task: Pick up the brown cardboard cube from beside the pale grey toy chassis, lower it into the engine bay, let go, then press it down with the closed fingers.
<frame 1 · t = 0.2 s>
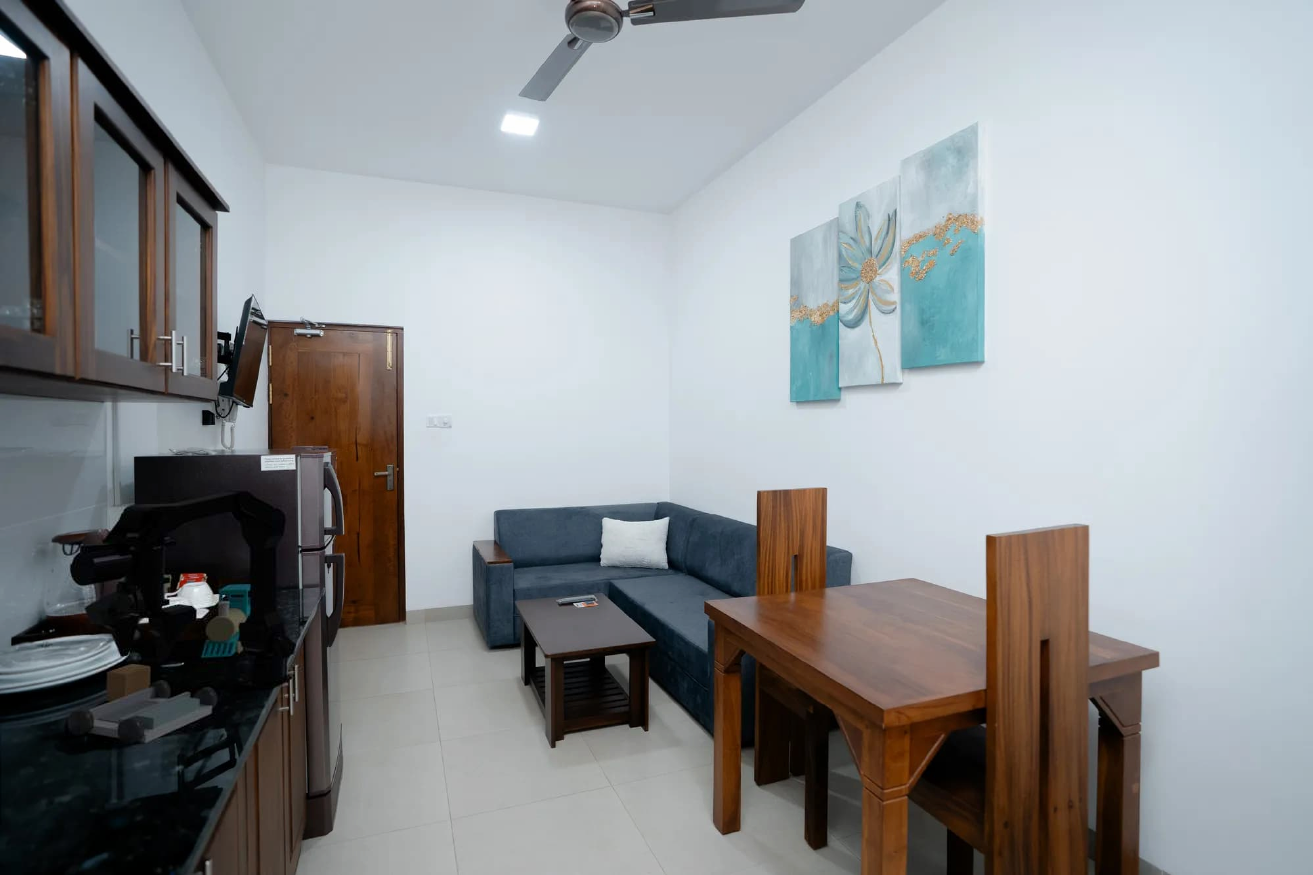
hand: (142, 659, 117), 14 cm above the countertop, fingers open, 9 cm apart
chassis: (145, 721, 123), on the countertop
brown cardboard cube: (128, 697, 134), on the countertop
toy train: (228, 650, 165), on the countertop
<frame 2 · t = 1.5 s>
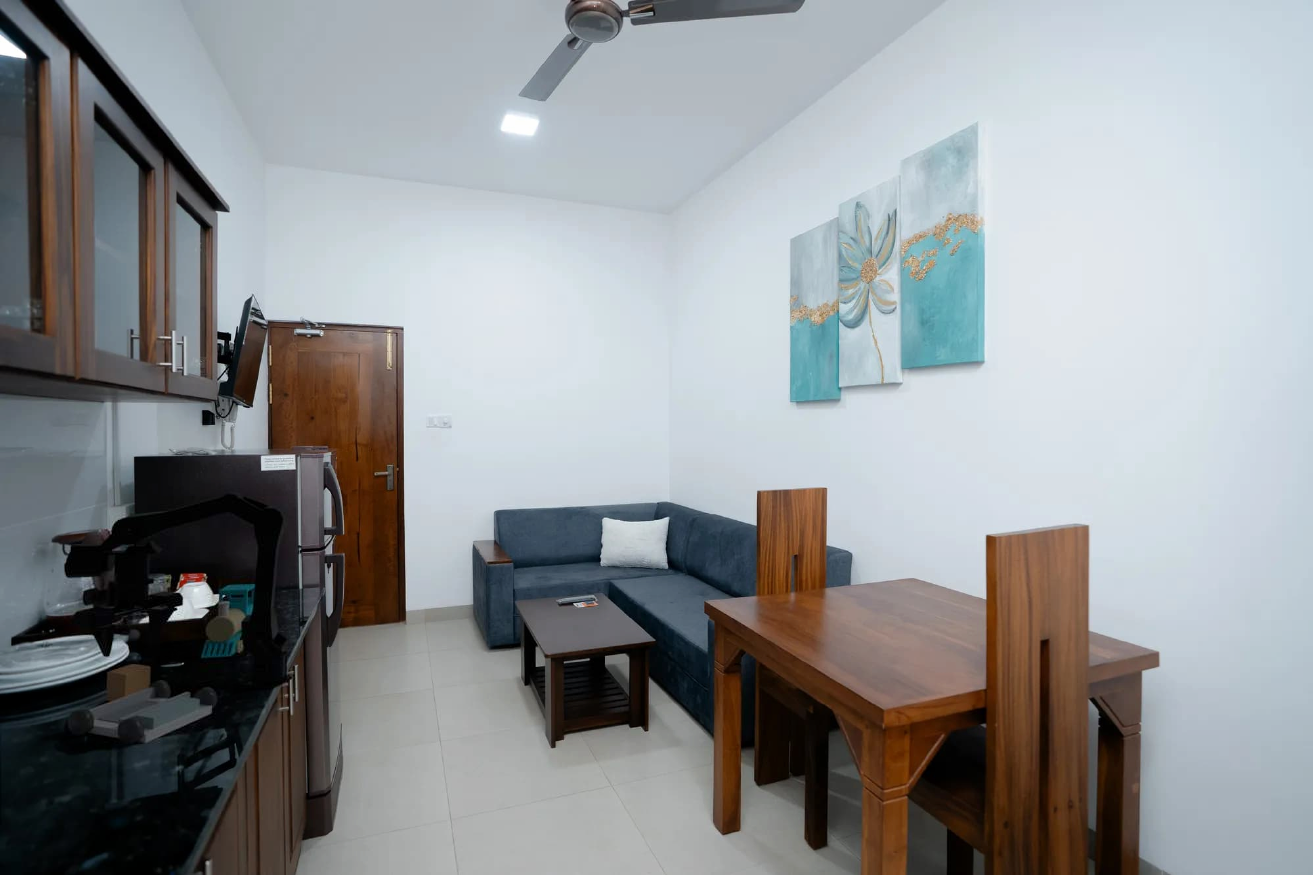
hand: (130, 649, 134), 10 cm above the countertop, fingers open, 9 cm apart
nothing on the countertop moved.
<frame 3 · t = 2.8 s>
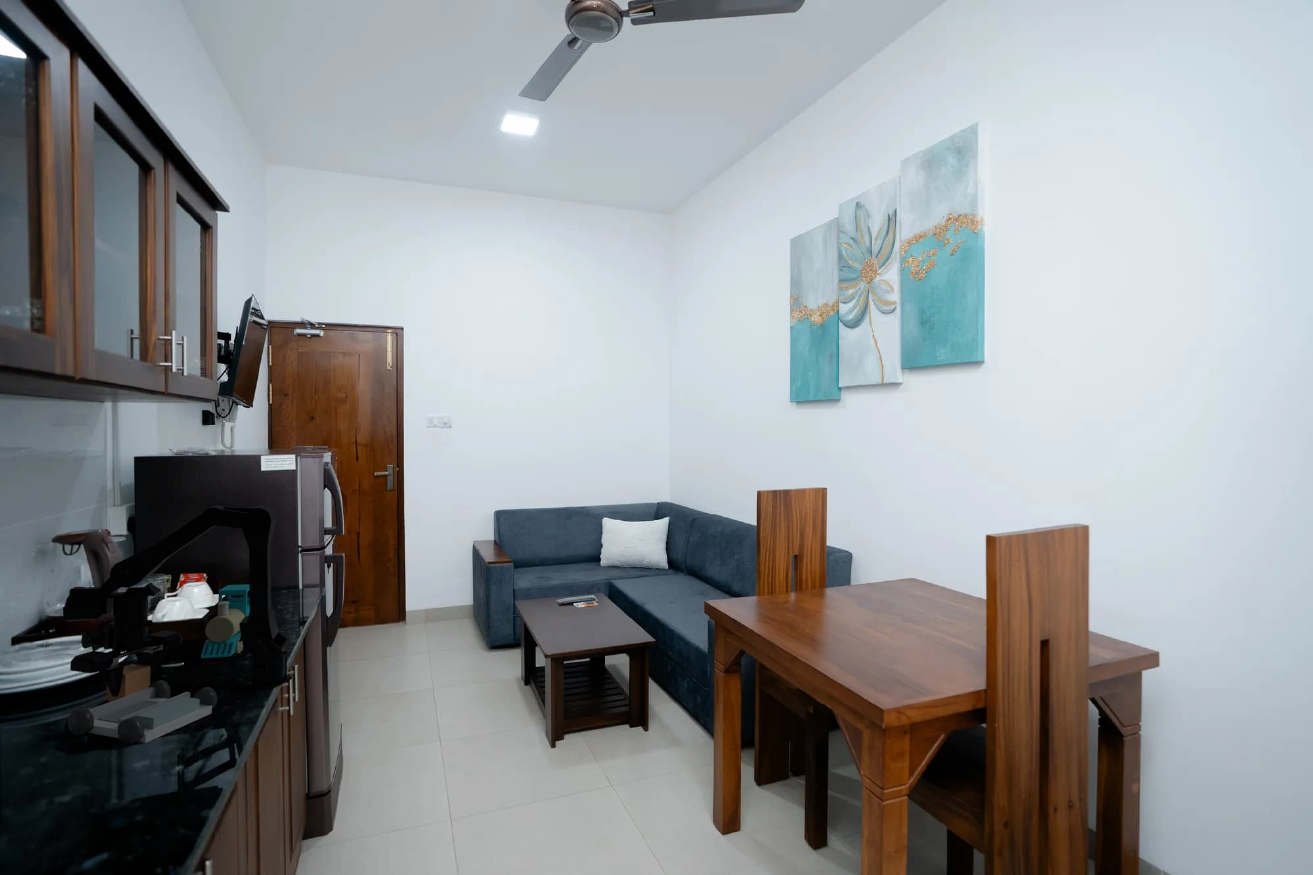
hand: (128, 691, 134), 1 cm above the countertop, fingers closed on brown cardboard cube, 5 cm apart
brown cardboard cube: (128, 697, 134), on the countertop, touching gripper
everything else where it was.
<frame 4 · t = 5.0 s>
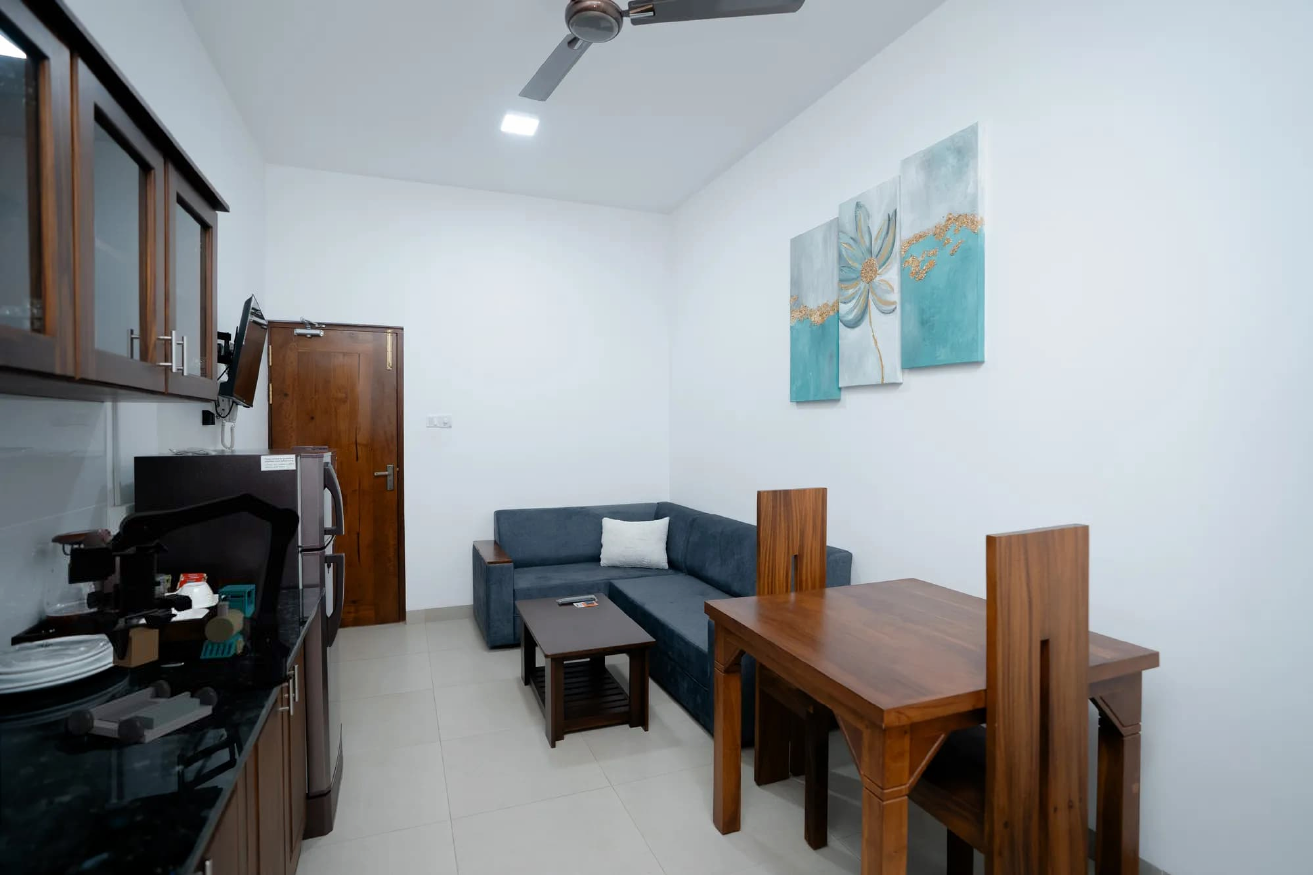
hand: (135, 655, 127), 11 cm above the countertop, fingers closed on brown cardboard cube, 5 cm apart
brown cardboard cube: (135, 661, 127), point 10 cm above the countertop, touching gripper
everything else where it was.
when the fingers open (4 cm above the countertop, at t = 7.1 s): brown cardboard cube drops 1 cm, resting on chassis.
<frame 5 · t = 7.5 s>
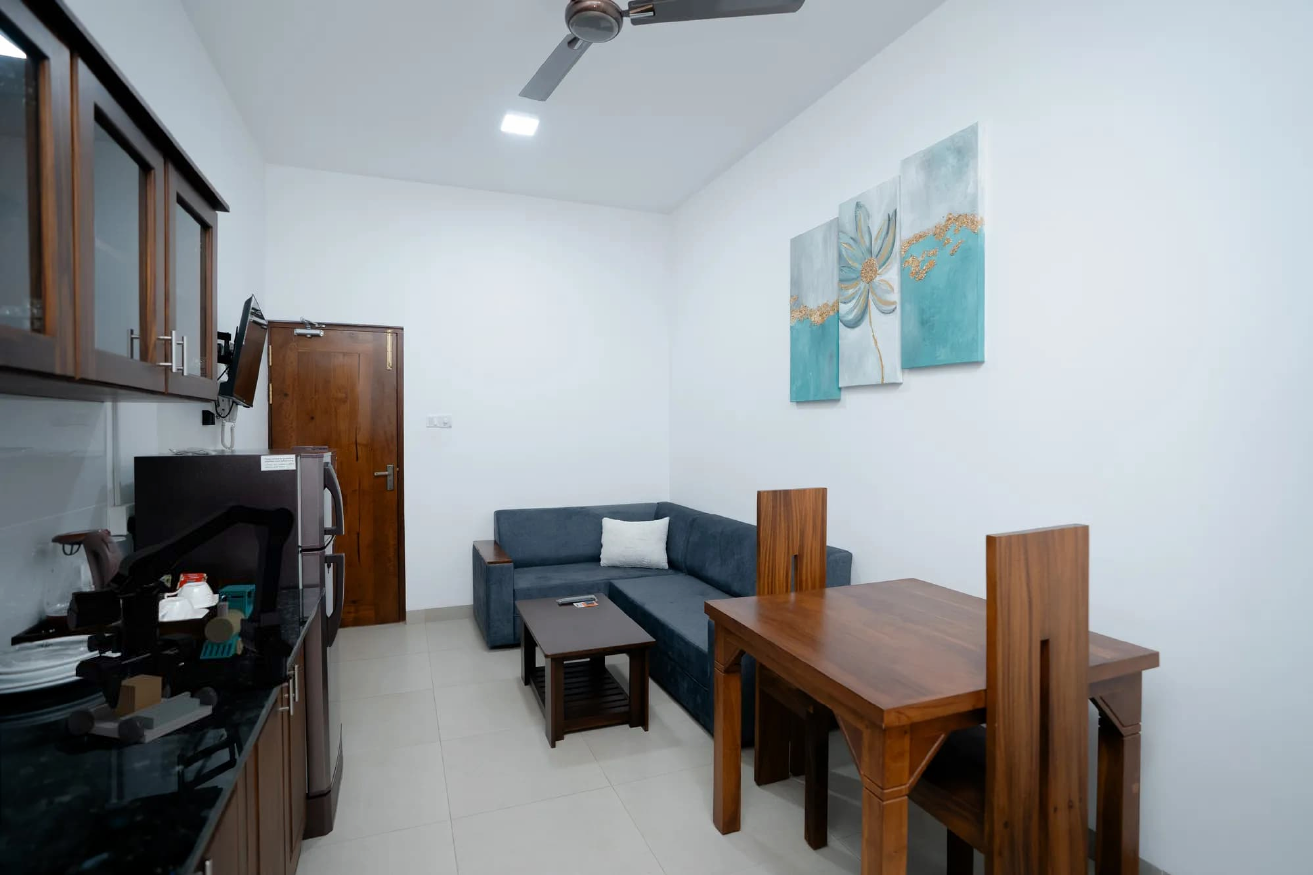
hand: (138, 698, 124), 4 cm above the countertop, fingers open, 9 cm apart
brown cardboard cube: (137, 711, 124), point 2 cm above the countertop, touching chassis
everything else where it was.
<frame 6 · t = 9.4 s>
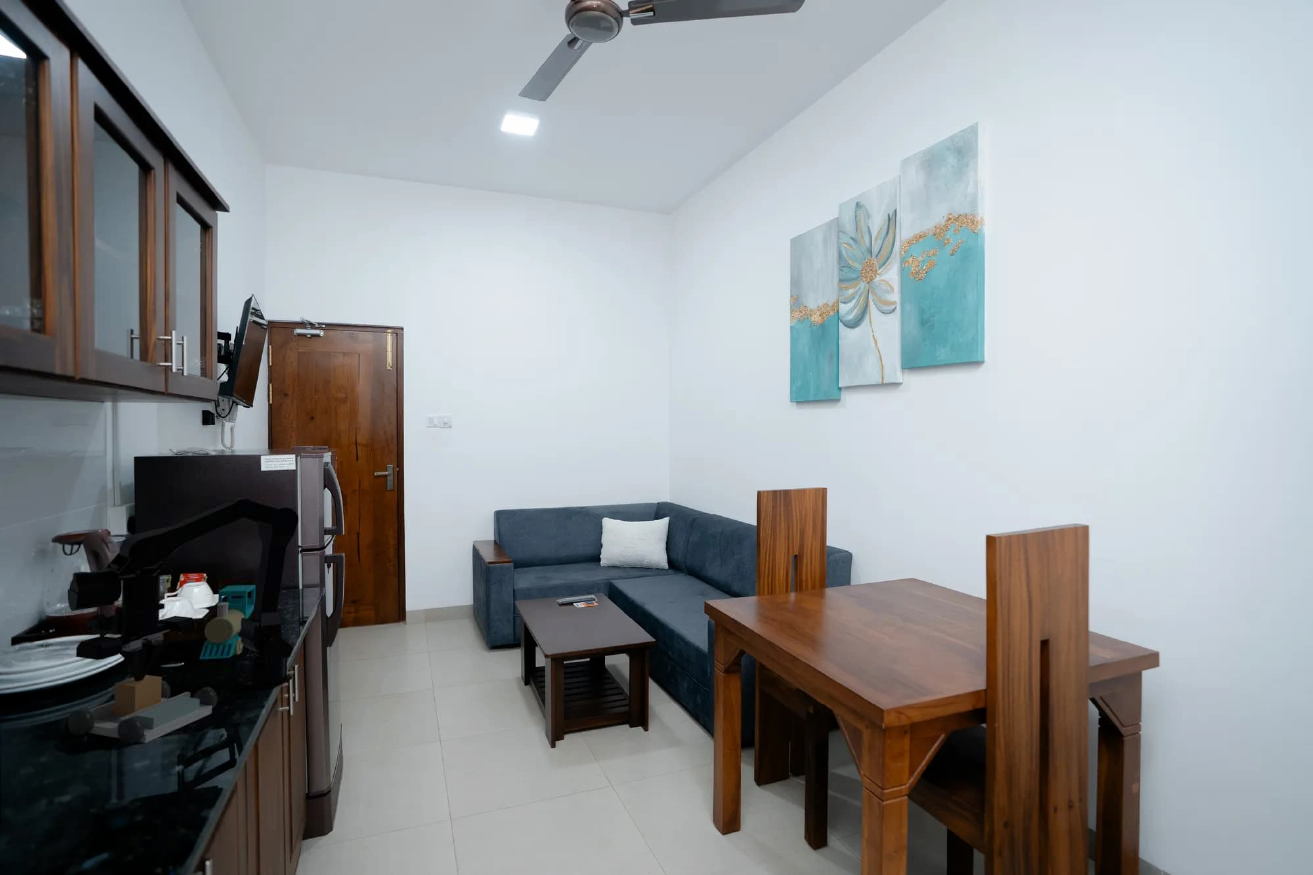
hand: (138, 680, 124), 8 cm above the countertop, fingers closed, pressing on brown cardboard cube
brown cardboard cube: (137, 711, 124), point 2 cm above the countertop, touching chassis, gripper
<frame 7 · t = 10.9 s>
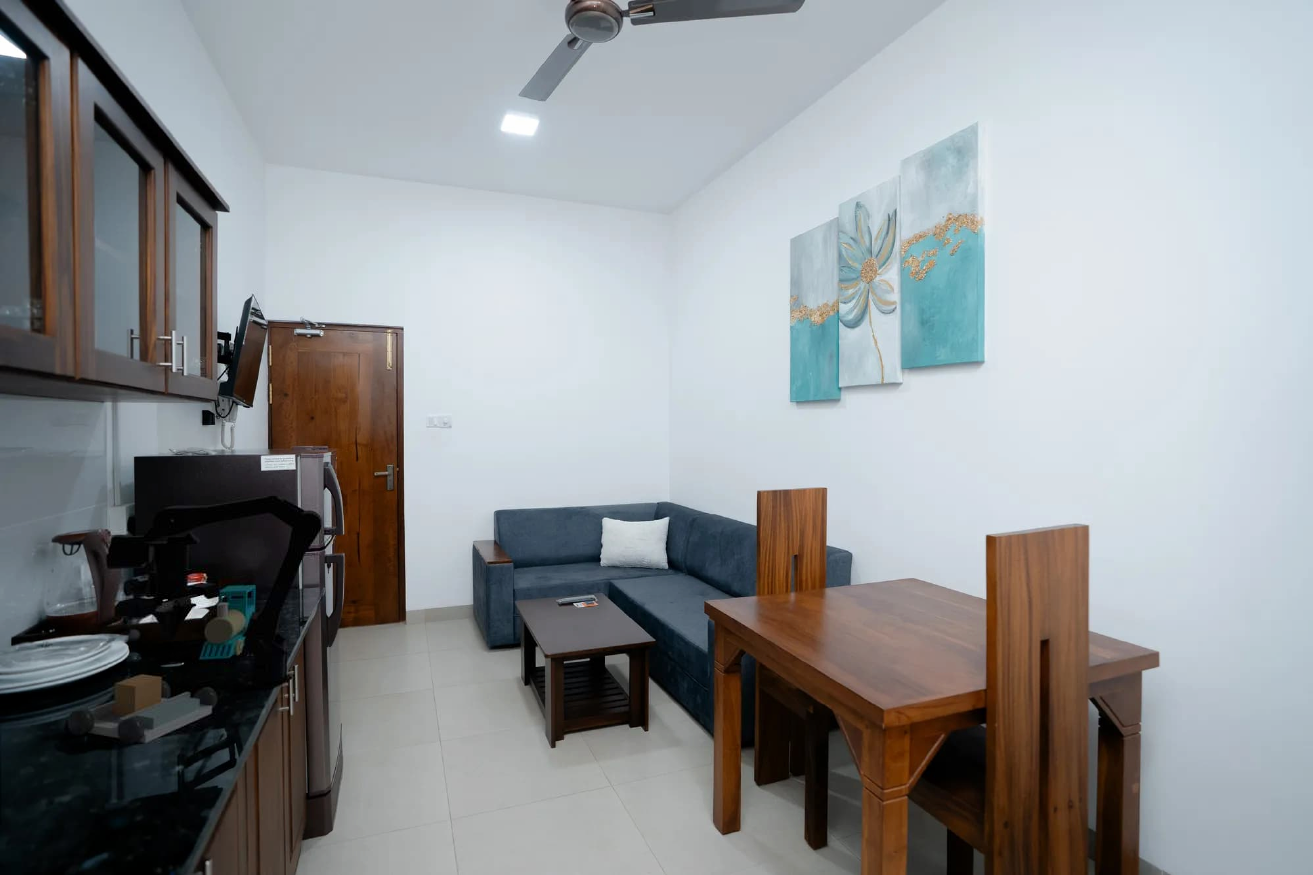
hand: (169, 639, 135), 12 cm above the countertop, fingers closed
brown cardboard cube: (137, 711, 124), point 2 cm above the countertop, touching chassis
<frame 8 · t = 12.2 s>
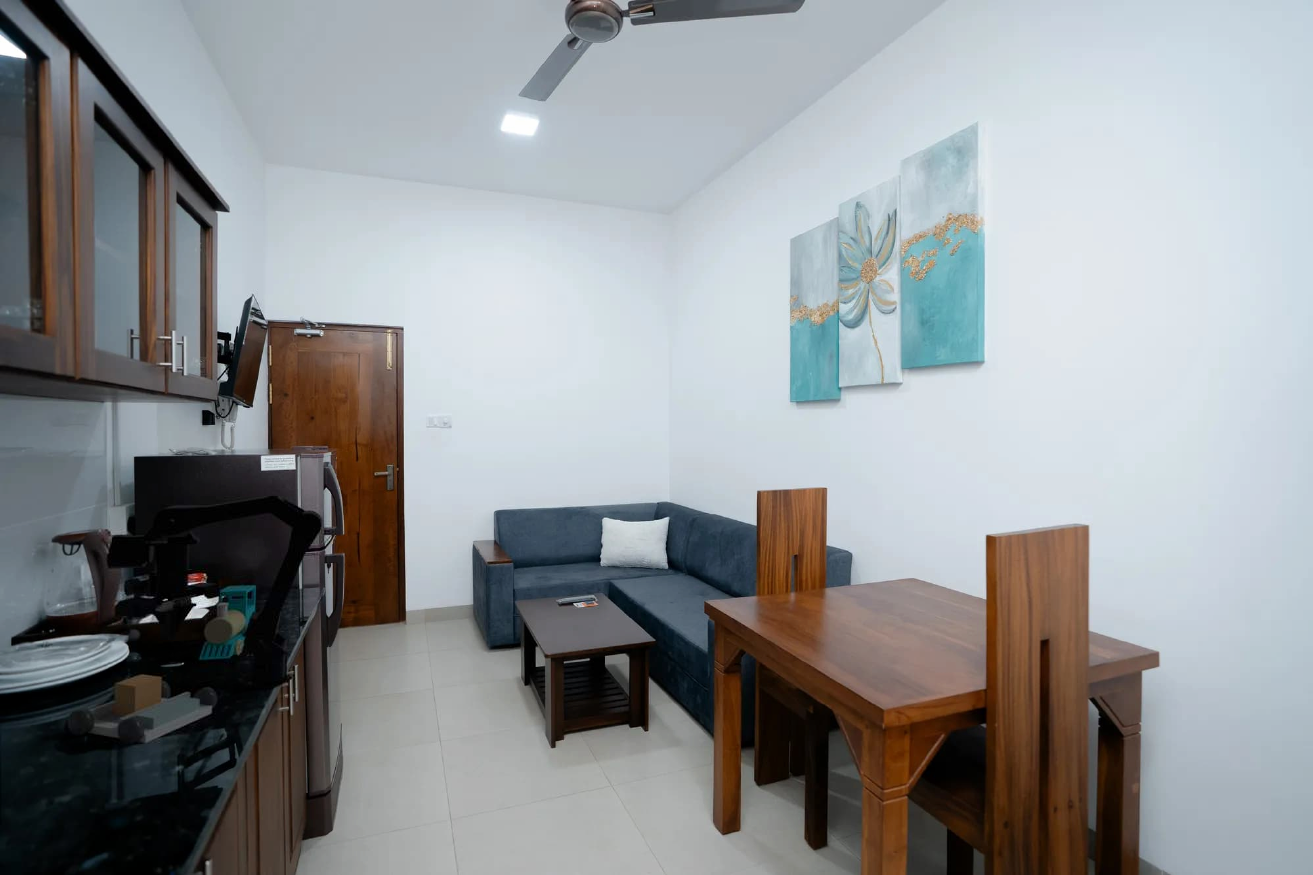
hand: (169, 639, 135), 12 cm above the countertop, fingers closed
at the end: brown cardboard cube 0.0 cm from the target spot on the chassis, point 1.7 cm above the chassis's base; brown cardboard cube tilted 0°; the gripper is holding nothing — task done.
